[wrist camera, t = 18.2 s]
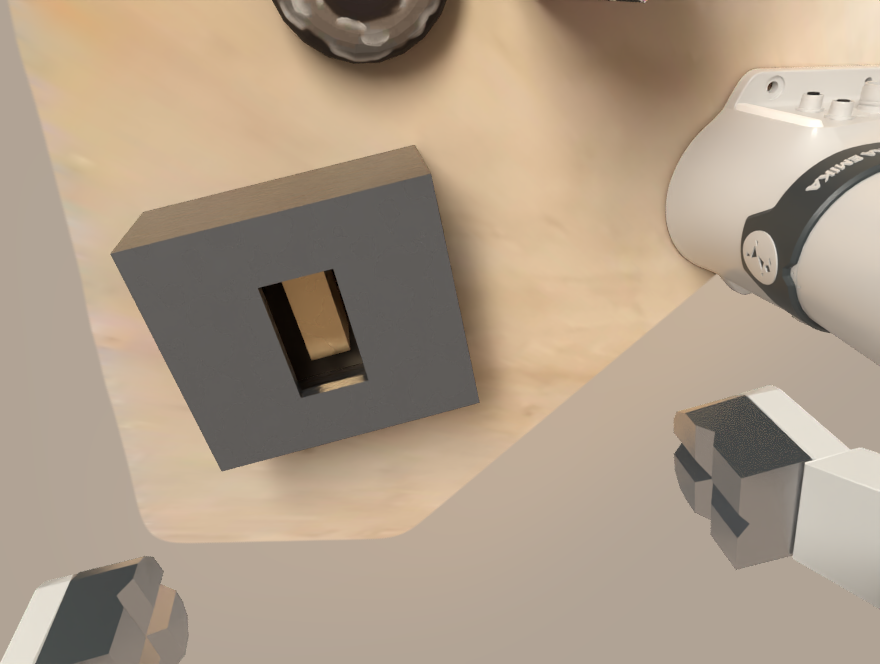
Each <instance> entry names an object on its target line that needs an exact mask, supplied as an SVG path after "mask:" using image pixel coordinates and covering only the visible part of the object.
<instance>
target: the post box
mask: <svg viewBox="0 0 880 664" xmlns="http://www.w3.org/2000/svg"><path fill="white" fill-rule="evenodd" d="M111 256H112V258H113V260H114V262H115V264H116V266H117V268H118V270H119V272H120V274H121V275H122V277H123V279H124V281H125V283H126V285H127V287H128V289H129V291H130V293H131V295H132V297H133V299H134V301H135V303H136V305H137V307H138V309H139V311H140V313H141V315H142V317H143V319H144V320H145V322H146V324H147V326H148V328H149V330H150V332H151V334H152V336H153V338H154V340H155V342H156V344H157V346H158V348H159V350H160V352H161V354H162V356H163V358H164V360H165V362H166V364H167V365H168V367H169V369H170V371H171V373H172V375H173V377H174V379H175V381H176V383H177V385H178V387H179V389H180V391H181V393H182V395H183V397H184V399H185V401H186V403H187V405H188V407H189V409H190V410H191V412H192V414H193V416H194V418H195V420H196V422H197V424H198V426H199V428H200V430H201V432H202V434H203V436H204V438H205V440H206V442H207V444H208V446H209V448H210V450H211V452H212V454H213V455H214V457H215V459H216V461H217V463H218V465H219V467H220V469H221V471H225V470H229V469H233V468H236V467H240V466H244V465H248V464H251V463H255V462H259V461H263V460H266V459H270V458H274V457H278V456H281V455H285V454H289V453H293V452H296V451H300V450H304V449H308V448H311V447H315V446H319V445H323V444H326V443H330V442H334V441H338V440H341V439H345V438H349V437H353V436H356V435H360V434H364V433H368V432H371V431H375V430H379V429H383V428H386V427H390V426H394V425H397V424H401V423H405V422H409V421H412V420H416V419H420V418H424V417H427V416H431V415H435V414H439V413H442V412H446V411H450V410H454V409H457V408H461V407H465V406H469V405H472V404H476V403H479V398H478V393H477V388H476V384H475V379H474V374H473V370H472V365H471V360H470V355H469V351H468V346H467V341H466V337H465V332H464V327H463V322H462V318H461V313H460V308H459V304H458V299H457V294H456V289H455V285H454V280H453V275H452V271H451V266H450V261H449V256H448V252H447V247H446V242H445V238H444V233H443V228H442V224H441V219H440V214H439V209H438V205H437V200H436V195H435V191H434V186H433V181H432V176H431V173H430V171H429V169H428V168H427V166H426V164H425V162H424V161H423V159H422V157H421V155H420V154H419V152H418V150H417V149H416V147H415V145H412V146H408V147H404V148H400V149H396V150H392V151H388V152H384V153H380V154H376V155H372V156H368V157H364V158H360V159H356V160H352V161H348V162H344V163H340V164H336V165H332V166H328V167H324V168H320V169H316V170H312V171H308V172H304V173H300V174H296V175H292V176H288V177H283V178H279V179H275V180H271V181H267V182H263V183H259V184H255V185H251V186H247V187H243V188H239V189H235V190H231V191H227V192H223V193H219V194H215V195H211V196H207V197H203V198H199V199H195V200H191V201H187V202H183V203H179V204H175V205H171V206H167V207H163V208H159V209H154V210H150V211H146V212H143V213H142V214H141V216H140V217H139V218H138V219H137V221H136V222H135V223H134V224H133V226H132V227H131V228H130V230H129V231H128V232H127V233H126V235H125V236H124V237H123V238H122V240H121V241H120V242H119V243H118V245H117V246H116V247H115V248H114V250H113V251H112V252H111ZM330 269H333V270H334V273H335V276H336V279H337V282H338V285H339V289H340V292H341V295H342V298H343V301H344V304H345V307H346V311H347V314H348V317H349V320H350V323H351V326H352V329H353V333H354V336H355V339H356V342H357V345H358V348H359V351H360V355H361V358H362V361H363V363H361V364H357V365H353V366H350V367H346V368H342V369H338V370H334V371H331V372H327V373H323V374H319V375H315V376H312V377H308V378H304V379H300V380H297V378H296V375H295V373H294V370H293V368H292V365H291V363H290V360H289V357H288V355H287V352H286V350H285V347H284V345H283V342H282V339H281V337H280V334H279V332H278V329H277V327H276V324H275V322H274V319H273V316H272V314H271V311H270V309H269V306H268V304H267V301H266V298H265V296H264V293H263V291H262V288H261V287H264V286H268V285H272V284H276V283H279V282H283V281H287V280H291V279H295V278H299V277H303V276H307V275H311V274H315V273H319V272H323V271H326V270H330Z"/></svg>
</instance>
